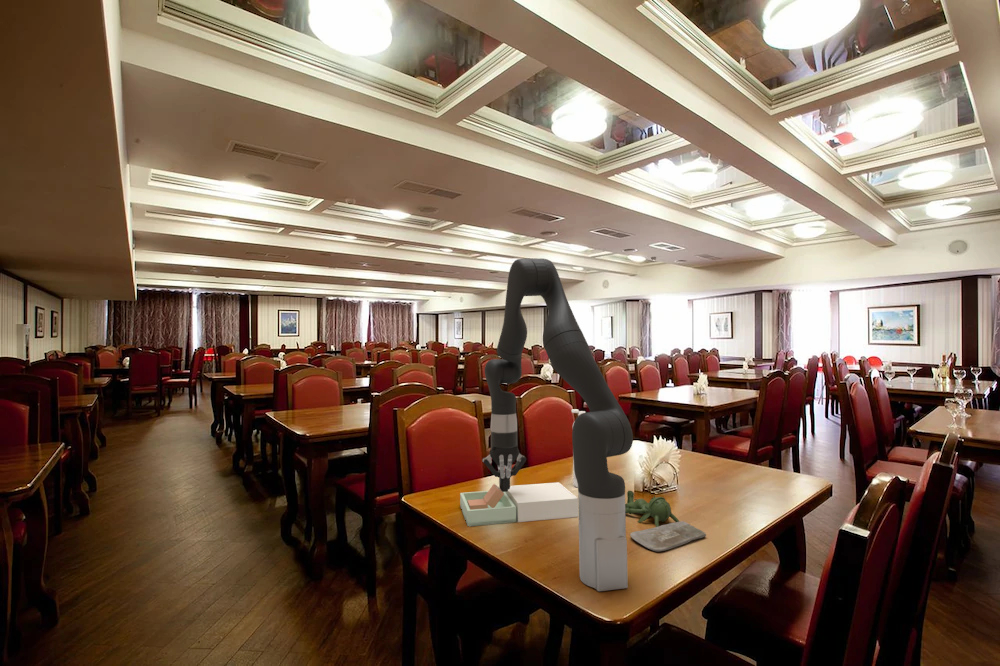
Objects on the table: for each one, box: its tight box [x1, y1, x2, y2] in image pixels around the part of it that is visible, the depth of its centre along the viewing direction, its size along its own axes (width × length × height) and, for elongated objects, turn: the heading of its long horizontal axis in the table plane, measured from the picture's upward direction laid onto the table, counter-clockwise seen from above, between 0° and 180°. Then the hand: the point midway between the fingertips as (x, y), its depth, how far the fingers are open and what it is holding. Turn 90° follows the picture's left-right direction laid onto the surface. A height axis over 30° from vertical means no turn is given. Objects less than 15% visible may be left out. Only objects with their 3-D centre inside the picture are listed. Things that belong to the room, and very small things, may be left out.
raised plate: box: [505, 481, 579, 523], centre depth 134 cm, size 16×17×5 cm
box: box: [459, 490, 517, 527], centre depth 131 cm, size 16×13×4 cm
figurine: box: [625, 490, 680, 527], centre depth 128 cm, size 11×8×19 cm
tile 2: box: [484, 483, 504, 508], centre depth 132 cm, size 5×5×2 cm
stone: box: [629, 520, 707, 553], centre depth 113 cm, size 18×3×10 cm
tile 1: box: [467, 499, 488, 510], centre depth 131 cm, size 5×5×2 cm
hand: (504, 490), depth 133 cm, fingers closed
